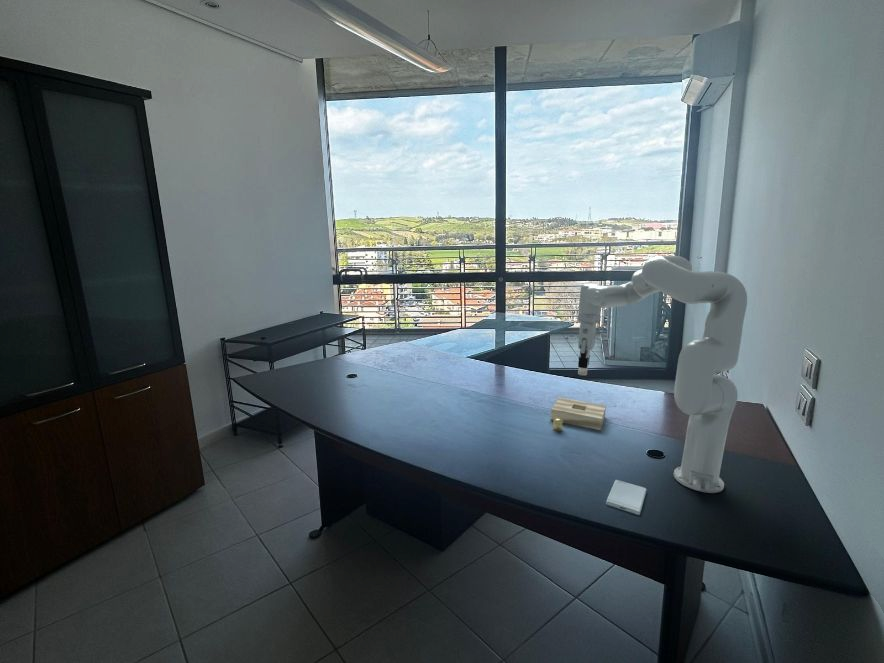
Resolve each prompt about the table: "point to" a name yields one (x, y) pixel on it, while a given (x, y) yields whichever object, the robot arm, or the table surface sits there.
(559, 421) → the short brass pin
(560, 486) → the table surface
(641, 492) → the hard drive
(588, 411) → the block
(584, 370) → the tall steel pin
